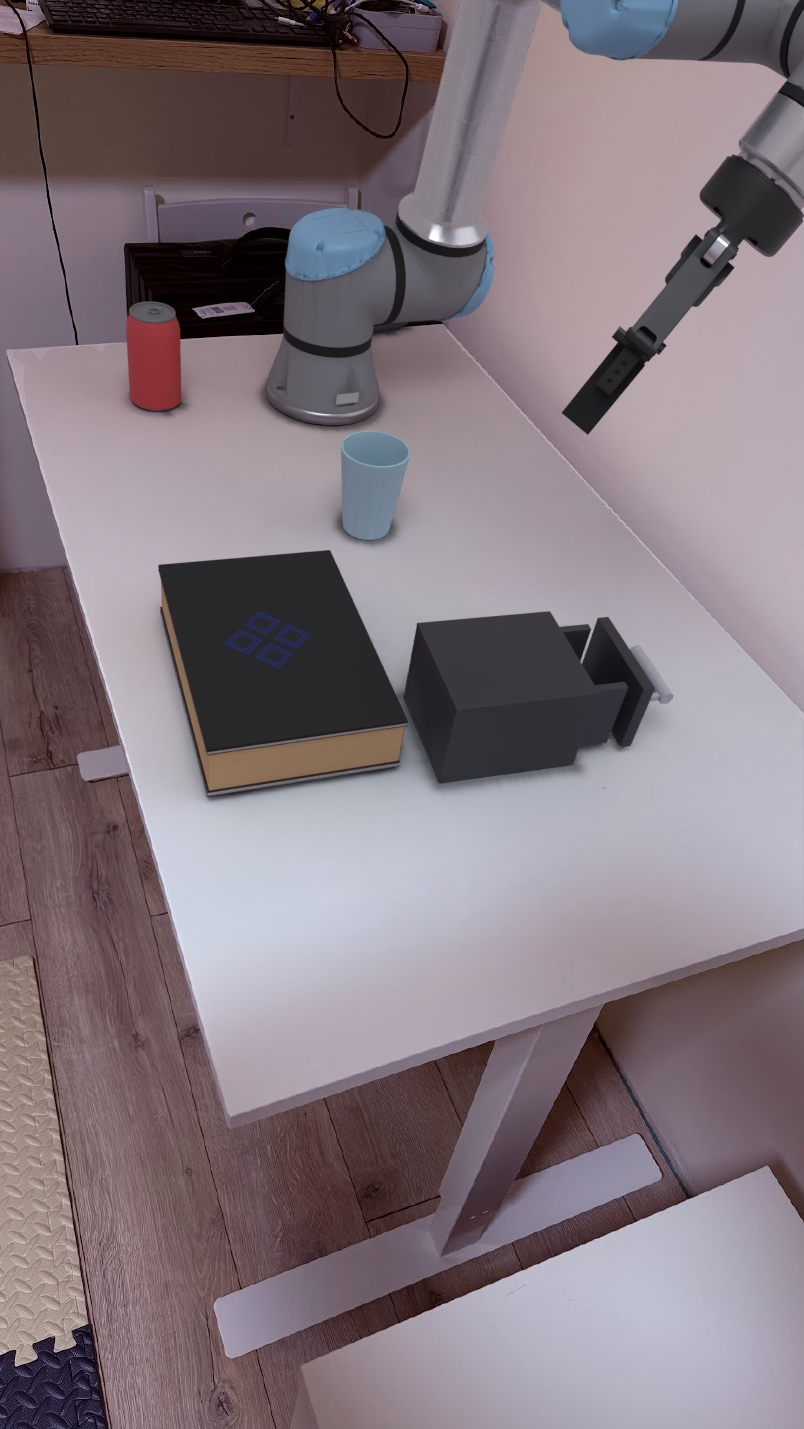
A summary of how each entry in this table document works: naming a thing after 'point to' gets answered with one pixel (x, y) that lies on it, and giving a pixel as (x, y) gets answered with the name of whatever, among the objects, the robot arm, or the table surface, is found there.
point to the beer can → (154, 356)
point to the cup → (371, 481)
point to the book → (277, 672)
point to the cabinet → (497, 695)
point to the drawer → (615, 682)
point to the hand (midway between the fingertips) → (583, 412)
